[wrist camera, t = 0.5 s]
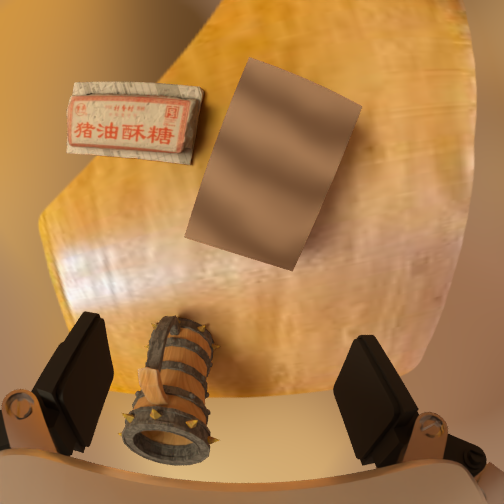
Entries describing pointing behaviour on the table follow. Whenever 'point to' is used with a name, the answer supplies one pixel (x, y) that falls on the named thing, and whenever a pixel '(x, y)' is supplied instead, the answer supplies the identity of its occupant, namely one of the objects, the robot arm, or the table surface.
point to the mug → (173, 395)
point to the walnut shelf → (271, 165)
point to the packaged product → (134, 120)
